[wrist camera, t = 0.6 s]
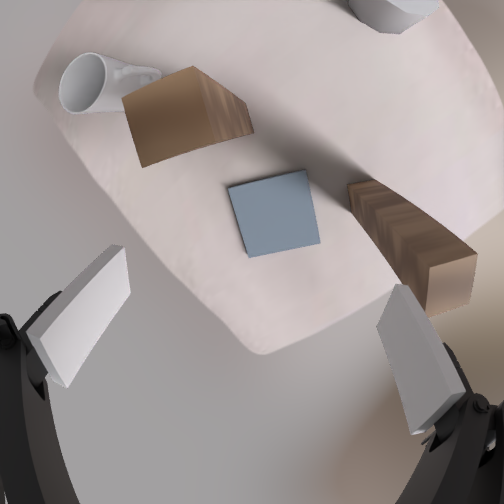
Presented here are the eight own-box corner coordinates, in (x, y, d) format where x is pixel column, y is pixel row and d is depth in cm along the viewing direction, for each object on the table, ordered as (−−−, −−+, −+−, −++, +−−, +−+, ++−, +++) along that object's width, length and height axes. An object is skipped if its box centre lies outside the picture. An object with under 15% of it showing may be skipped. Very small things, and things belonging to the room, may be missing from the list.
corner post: (214, 112, 31) (121, 97, 11) (245, 103, 30) (193, 65, 10) (223, 141, 32) (142, 168, 12) (254, 132, 31) (215, 142, 12)
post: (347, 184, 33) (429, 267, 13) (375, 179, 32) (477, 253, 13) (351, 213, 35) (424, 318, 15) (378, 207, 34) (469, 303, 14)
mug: (115, 117, 31) (59, 121, 20) (114, 74, 28) (58, 65, 18) (181, 104, 30) (137, 97, 20) (179, 57, 27) (137, 33, 17)
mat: (228, 187, 35) (227, 188, 34) (305, 169, 33) (305, 170, 32) (249, 255, 39) (248, 257, 38) (319, 240, 37) (320, 243, 36)
